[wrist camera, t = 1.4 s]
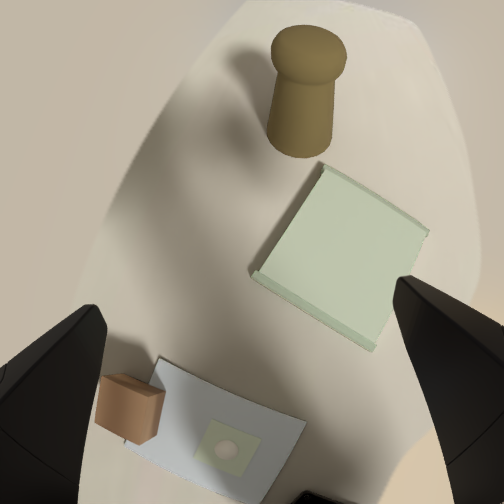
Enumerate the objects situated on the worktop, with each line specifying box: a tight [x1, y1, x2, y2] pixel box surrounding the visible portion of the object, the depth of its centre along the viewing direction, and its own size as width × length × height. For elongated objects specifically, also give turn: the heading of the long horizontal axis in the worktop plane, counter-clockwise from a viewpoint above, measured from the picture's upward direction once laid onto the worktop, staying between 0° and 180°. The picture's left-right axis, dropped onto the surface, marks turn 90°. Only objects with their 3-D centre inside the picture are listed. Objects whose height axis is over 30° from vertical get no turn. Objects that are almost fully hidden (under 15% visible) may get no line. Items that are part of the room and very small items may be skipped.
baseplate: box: [251, 164, 430, 352], centre depth 21 cm, size 11×11×1 cm
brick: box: [95, 374, 166, 446], centre depth 18 cm, size 4×4×3 cm
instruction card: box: [124, 358, 307, 504], centre depth 18 cm, size 12×9×1 cm
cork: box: [267, 25, 347, 158], centre depth 20 cm, size 6×6×11 cm
